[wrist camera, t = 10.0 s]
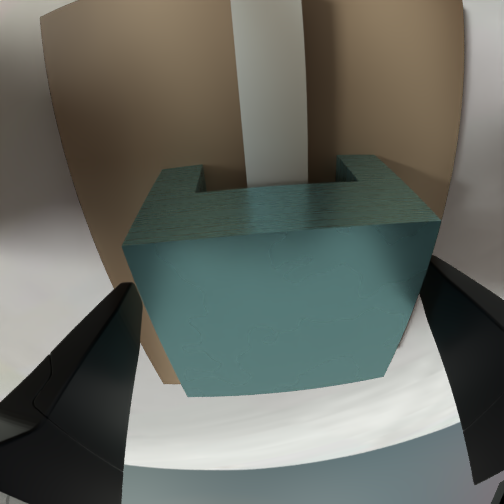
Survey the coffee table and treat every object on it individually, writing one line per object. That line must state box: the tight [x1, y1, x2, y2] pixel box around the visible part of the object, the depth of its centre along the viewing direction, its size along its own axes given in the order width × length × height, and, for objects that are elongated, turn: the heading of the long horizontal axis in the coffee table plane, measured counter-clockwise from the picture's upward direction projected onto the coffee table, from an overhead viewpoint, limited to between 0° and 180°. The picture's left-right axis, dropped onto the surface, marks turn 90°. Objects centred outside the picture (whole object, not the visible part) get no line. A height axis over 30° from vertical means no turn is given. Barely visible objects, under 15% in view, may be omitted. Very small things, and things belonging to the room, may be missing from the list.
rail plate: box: [40, 0, 464, 384], centre depth 11 cm, size 13×18×2 cm
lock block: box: [122, 155, 441, 397], centre depth 9 cm, size 6×6×4 cm
